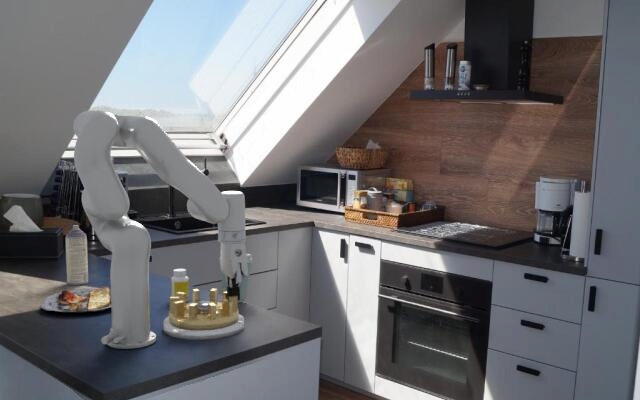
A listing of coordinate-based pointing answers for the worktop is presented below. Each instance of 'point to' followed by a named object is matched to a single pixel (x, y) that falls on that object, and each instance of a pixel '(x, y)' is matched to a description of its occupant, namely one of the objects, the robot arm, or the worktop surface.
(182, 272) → the supplement bottle
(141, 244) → the robot arm
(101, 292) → the food plate
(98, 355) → the worktop surface
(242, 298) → the disposable coffee cup
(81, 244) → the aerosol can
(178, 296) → the bladed impeller wheel
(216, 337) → the light grey round disc
